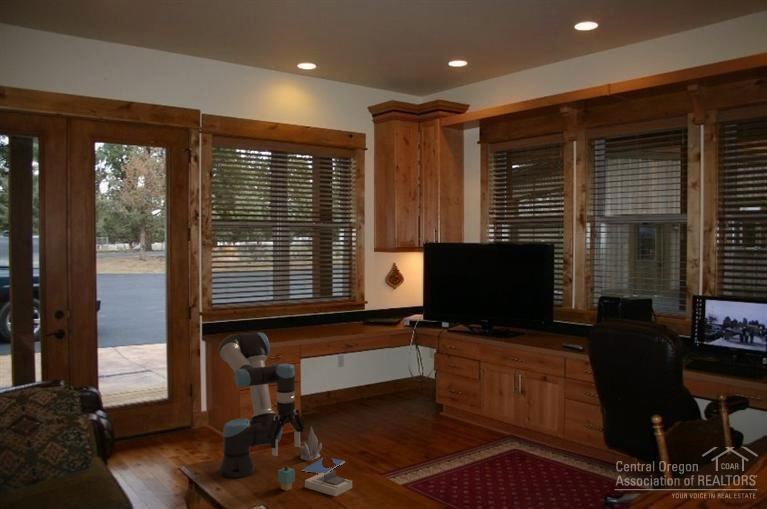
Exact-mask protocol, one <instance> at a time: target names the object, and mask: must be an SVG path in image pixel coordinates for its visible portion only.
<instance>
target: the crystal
mask: <svg viewBox="0 0 767 509" xmlns="http://www.w3.org/2000/svg"><path fill="white" fill-rule="evenodd" d="M318 443H319V441H318V437H317V435H316V434H315V431H314V428H313V426H310V430H309V433H308V436H307V443H306V441H304V444H303V446H300V447H299V450H300V452H301V455H300V457H299V458H300V459H301V460H304V461H315V460H314V459H317V458H319V457H320V456H321V454H320V452H321V450H322V448H323V445H322V442H320V443H319V444H318ZM319 459H320V458H319ZM317 460H318V459H317Z"/></svg>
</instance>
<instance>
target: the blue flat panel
mask: <svg viewBox="0 0 767 509" xmlns="http://www.w3.org/2000/svg"><path fill="white" fill-rule="evenodd" d="M324 457H325V456H324ZM324 457H321V458H319V459H317V460H315V461H314V462H313V463H311V464H310V465H308V466H306V467H305V468H303V469H302V470H301V472H302V471H305V472H304V473H307V472H316V473H318V474H320V473H325V474H327V473H329V472H330V471H331V470H332V471H333V469H334V468H336V467H337V466H339V465H340V466H341V465H343V464H345V463H346V461H345V460H341V459H337V458H331V459H332V460H333V463H335V464H336V466H335V465H334V467H333V468H332V467H331V468H330V467H329V468H325V467H323V465H322V460H323V458H324ZM340 466H339V467H340ZM337 468H338V467H337ZM337 468H336V469H337ZM334 470H335V469H334Z"/></svg>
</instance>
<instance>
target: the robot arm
mask: <svg viewBox="0 0 767 509" xmlns="http://www.w3.org/2000/svg"><path fill="white" fill-rule="evenodd" d="M270 353H271V344H270V341H269V339H268V336H267V335H266V334H265V333H264V332H256V331H254V332H247V333H235V334H231V335H227V336H226V337H225V338H224V339H223V340H222V341H221V342H220V343H219V346H218V354H219V357H220V358H221V360H222V361H224V362H226V363H227V364H228V365H229V367H230V368H231V369H232V370H233V372H234V382H235V385H236V387H238V388H242V387H244V388H247V387H249V389H250V396H251V403H252V409H253V415H252V416H251V417H250V419H249V418H247V417H244V418H242V417H239V418H235V419H231V420H229V421H226V423H225V424H224V425H223V433H222V436H223V438H222V439H223V457H222V460H221V465H220V467H219V474H220V476H221V477H224V478H228V479H237V478H245V477H247V476H250V475H252V474H253V473H254V472H255V467H254V463H253V459H252V457H251V451H250V450H251V448H254V447H255V448H256V447H262V446H270V448H271V455H272V456H274V457H277V456H279V442H280V440H281V439H282V435H283V427H284V426H285V425H286V424H289V423H290V425H291V426H292V427H293V429H294V430H295V431H294V433H293V434H294V437H293V439H294V447H295V448H300V447H301V439H302V432H303V431H304V429H305V424H304V422H303V420H302V418H301V415H300V409H298V408H296V401H295V399H296V398H295V396H296V394H295V391H296V389H295V388H296V387H295V386H296V384H295V382H296V381H295V380H296V376H295V375H296V370H295V365H294V364H292V363H281V364H279V363H278V364H277V363H273V364H272V363H271V364H270V365H269V366H266V361H267V359H268V356H269V355H270ZM270 384H272V385H273V384H276V401H277V402H276V410H277V413H276V411H274V410H273V408H272V407H273V406H272V402H271V401H272V400H271V394H270V388H269V385H270ZM250 420H251V421H250Z"/></svg>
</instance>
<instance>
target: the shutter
mask: <svg viewBox="0 0 767 509" xmlns="http://www.w3.org/2000/svg"><path fill="white" fill-rule="evenodd" d="M345 479H346V478H343V477H339V476H337V470H335V469H334V470H332V471H331V472H329V473H327V474H325V475H324V483H328V484H331V485H335V486H336V485H338V484H340V483H342V482H344V481H345Z"/></svg>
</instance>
